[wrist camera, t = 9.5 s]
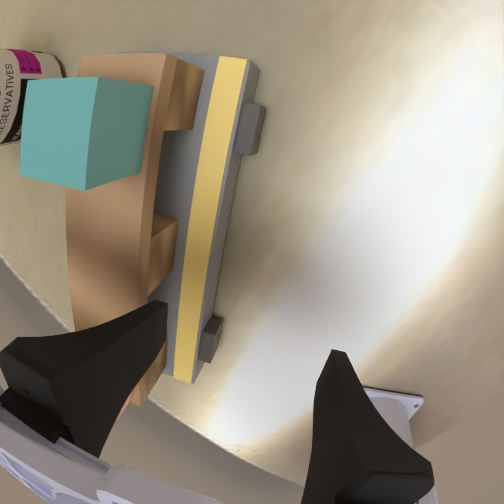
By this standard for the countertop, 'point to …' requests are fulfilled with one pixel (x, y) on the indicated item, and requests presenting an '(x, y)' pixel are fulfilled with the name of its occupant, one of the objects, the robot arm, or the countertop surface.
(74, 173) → the teal crate
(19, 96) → the supplement can
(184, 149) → the dock
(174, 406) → the countertop surface
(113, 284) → the brown long bar
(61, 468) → the robot arm
